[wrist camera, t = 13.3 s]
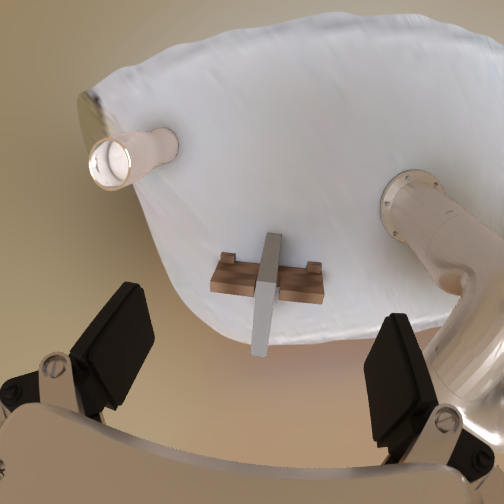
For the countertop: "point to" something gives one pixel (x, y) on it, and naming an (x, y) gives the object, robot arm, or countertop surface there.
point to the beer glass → (130, 156)
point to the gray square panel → (265, 294)
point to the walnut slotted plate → (288, 279)
